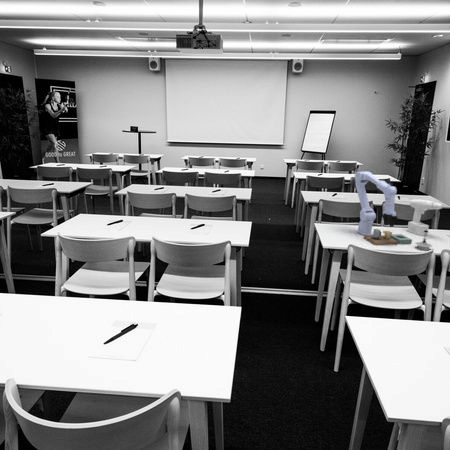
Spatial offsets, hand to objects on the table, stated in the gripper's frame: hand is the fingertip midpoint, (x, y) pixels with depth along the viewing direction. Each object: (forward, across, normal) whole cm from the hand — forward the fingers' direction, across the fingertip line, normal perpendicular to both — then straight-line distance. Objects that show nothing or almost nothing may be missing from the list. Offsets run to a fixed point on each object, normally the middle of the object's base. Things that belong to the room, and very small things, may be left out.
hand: (388, 225), depth 263 cm
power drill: (+10, +22, -34) cm, 42 cm away
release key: (+8, +2, 0) cm, 9 cm away
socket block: (+10, +2, +5) cm, 12 cm away
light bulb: (+14, -10, -18) cm, 25 cm away
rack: (+11, +4, -10) cm, 15 cm away
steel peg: (+10, +1, +8) cm, 13 cm away
